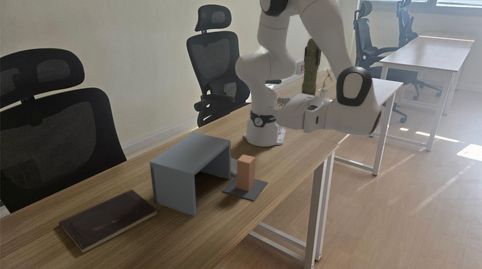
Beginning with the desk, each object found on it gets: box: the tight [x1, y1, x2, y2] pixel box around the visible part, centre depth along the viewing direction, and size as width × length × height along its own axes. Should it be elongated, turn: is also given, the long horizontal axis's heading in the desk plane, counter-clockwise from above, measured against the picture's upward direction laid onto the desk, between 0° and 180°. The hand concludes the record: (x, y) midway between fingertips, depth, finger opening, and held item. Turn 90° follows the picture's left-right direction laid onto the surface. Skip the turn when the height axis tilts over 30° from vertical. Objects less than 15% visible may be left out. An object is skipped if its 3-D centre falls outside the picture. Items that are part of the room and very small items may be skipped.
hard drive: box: [231, 156, 238, 177], centre depth 128 cm, size 2×8×12 cm
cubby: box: [149, 131, 232, 217], centre depth 110 cm, size 24×15×15 cm, turn 154°
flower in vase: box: [317, 68, 334, 98], centre depth 175 cm, size 13×11×25 cm
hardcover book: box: [58, 189, 159, 254], centre depth 98 cm, size 16×23×2 cm
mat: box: [221, 175, 268, 202], centre depth 115 cm, size 12×12×1 cm
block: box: [236, 154, 256, 191], centre depth 112 cm, size 4×4×11 cm
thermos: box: [301, 37, 322, 96], centre depth 203 cm, size 9×12×35 cm
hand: (272, 104), depth 98 cm, fingers open, 8 cm apart
